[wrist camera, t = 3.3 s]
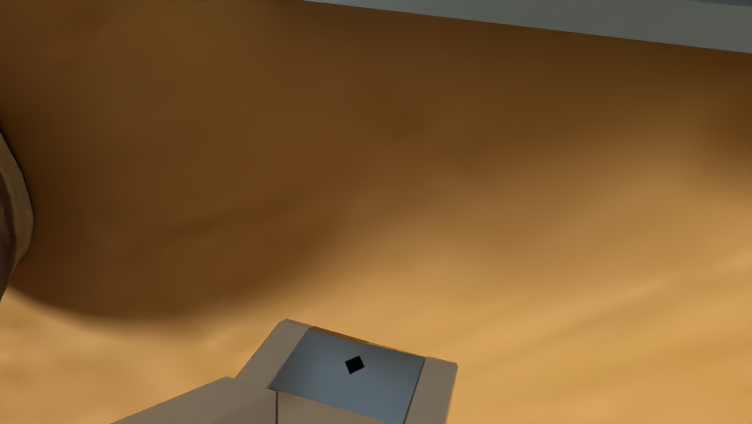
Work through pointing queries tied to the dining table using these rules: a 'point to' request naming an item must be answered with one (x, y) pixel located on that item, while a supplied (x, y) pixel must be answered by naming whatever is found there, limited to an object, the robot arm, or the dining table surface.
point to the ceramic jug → (12, 216)
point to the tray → (601, 17)
